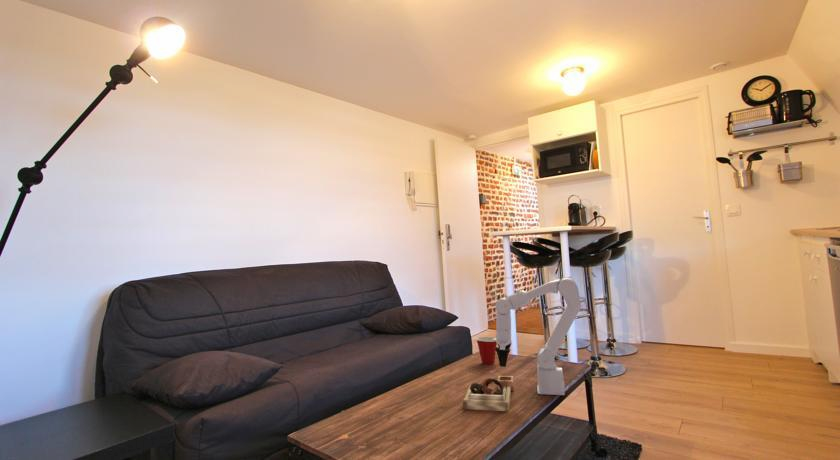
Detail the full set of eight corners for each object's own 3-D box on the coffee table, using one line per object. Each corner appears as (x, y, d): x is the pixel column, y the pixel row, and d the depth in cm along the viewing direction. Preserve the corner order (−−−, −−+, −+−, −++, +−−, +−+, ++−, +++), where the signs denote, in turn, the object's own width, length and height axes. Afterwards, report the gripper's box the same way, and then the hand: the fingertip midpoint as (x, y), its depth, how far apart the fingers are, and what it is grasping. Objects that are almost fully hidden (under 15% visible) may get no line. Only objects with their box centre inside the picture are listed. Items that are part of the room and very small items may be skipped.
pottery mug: (497, 393, 149) (503, 377, 145) (501, 414, 140) (507, 397, 137) (466, 388, 149) (471, 372, 145) (468, 408, 140) (473, 391, 137)
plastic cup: (504, 363, 185) (503, 337, 186) (487, 367, 180) (485, 341, 180) (489, 358, 195) (488, 334, 195) (472, 362, 189) (471, 337, 190)
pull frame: (514, 385, 155) (513, 374, 156) (511, 408, 133) (510, 396, 133) (477, 383, 159) (476, 373, 160) (468, 406, 137) (468, 394, 137)
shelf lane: (510, 393, 147) (510, 385, 148) (508, 411, 132) (508, 402, 132) (470, 391, 152) (469, 383, 152) (463, 408, 136) (463, 400, 136)
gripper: (494, 324, 162) (494, 357, 162) (491, 332, 148) (491, 368, 148) (512, 325, 160) (512, 358, 160) (510, 333, 146) (510, 369, 146)
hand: (503, 363), depth 154 cm, fingers open, 7 cm apart
